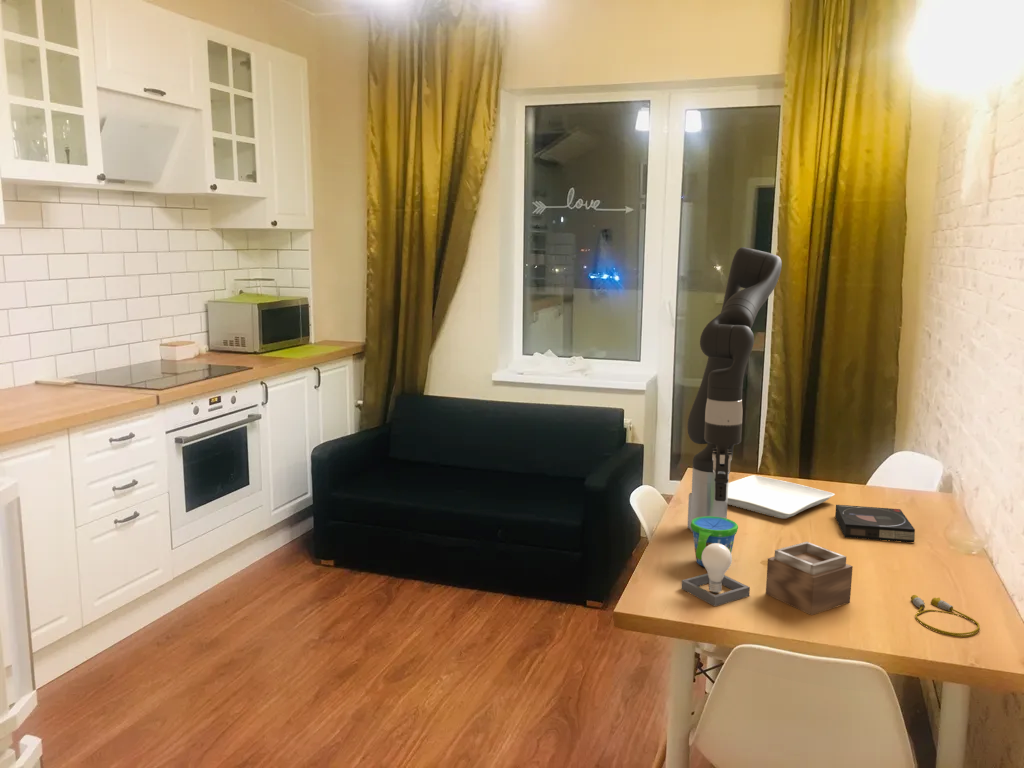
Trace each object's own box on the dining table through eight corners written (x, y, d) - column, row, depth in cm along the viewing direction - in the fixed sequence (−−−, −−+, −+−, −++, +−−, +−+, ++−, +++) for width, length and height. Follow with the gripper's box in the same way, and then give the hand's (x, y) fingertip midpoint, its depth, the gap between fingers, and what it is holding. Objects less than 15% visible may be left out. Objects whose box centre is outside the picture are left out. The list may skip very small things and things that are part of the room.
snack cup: (707, 549, 200) (709, 510, 198) (748, 560, 193) (750, 519, 191) (675, 568, 188) (677, 526, 187) (717, 580, 181) (719, 536, 180)
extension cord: (975, 611, 167) (976, 602, 167) (982, 644, 153) (983, 634, 153) (910, 600, 173) (911, 591, 172) (911, 631, 159) (911, 621, 158)
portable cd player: (844, 539, 208) (845, 525, 208) (835, 518, 225) (836, 504, 224) (914, 545, 204) (915, 530, 204) (899, 523, 221) (900, 509, 220)
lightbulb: (696, 586, 178) (698, 539, 176) (724, 585, 178) (726, 538, 177) (705, 599, 172) (707, 549, 170) (734, 598, 172) (737, 549, 170)
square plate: (752, 485, 256) (752, 473, 255) (835, 505, 236) (836, 492, 235) (702, 502, 238) (703, 490, 237) (788, 526, 218) (789, 512, 217)
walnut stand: (765, 593, 174) (768, 549, 173) (803, 582, 180) (806, 539, 179) (811, 615, 164) (814, 568, 163) (849, 602, 170) (853, 557, 169)
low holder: (681, 588, 177) (681, 580, 176) (715, 579, 182) (715, 571, 181) (714, 606, 168) (715, 597, 168) (749, 595, 173) (749, 587, 173)
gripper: (743, 428, 161) (739, 506, 164) (741, 414, 175) (737, 486, 177) (704, 426, 163) (701, 503, 165) (705, 412, 176) (702, 484, 179)
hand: (720, 494), depth 171 cm, fingers open, 8 cm apart
